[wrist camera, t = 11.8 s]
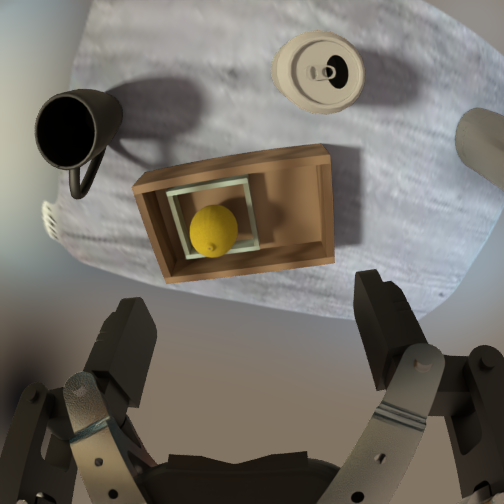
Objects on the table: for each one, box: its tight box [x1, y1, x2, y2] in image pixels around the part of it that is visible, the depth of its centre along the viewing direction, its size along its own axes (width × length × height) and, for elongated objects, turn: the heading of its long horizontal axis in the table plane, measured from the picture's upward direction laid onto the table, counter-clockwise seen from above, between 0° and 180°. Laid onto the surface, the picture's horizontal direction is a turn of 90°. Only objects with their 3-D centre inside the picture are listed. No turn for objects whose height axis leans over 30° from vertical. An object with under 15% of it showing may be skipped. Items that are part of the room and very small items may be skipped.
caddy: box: [132, 144, 335, 284], centre depth 38 cm, size 22×14×5 cm, turn 99°
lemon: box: [190, 205, 238, 258], centre depth 36 cm, size 6×6×8 cm
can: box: [271, 30, 365, 115], centre depth 25 cm, size 8×8×12 cm
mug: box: [35, 89, 123, 199], centre depth 30 cm, size 8×12×10 cm
